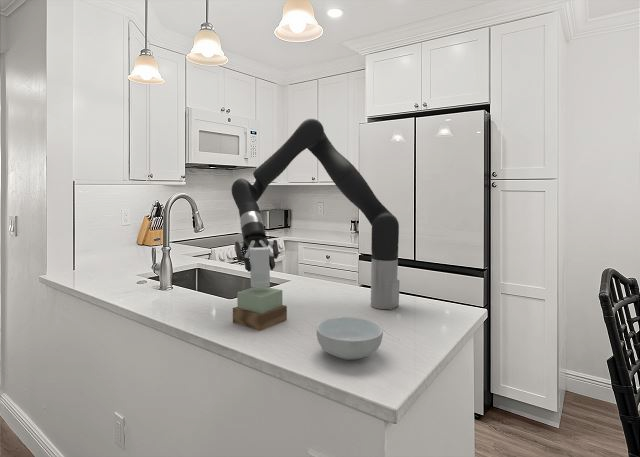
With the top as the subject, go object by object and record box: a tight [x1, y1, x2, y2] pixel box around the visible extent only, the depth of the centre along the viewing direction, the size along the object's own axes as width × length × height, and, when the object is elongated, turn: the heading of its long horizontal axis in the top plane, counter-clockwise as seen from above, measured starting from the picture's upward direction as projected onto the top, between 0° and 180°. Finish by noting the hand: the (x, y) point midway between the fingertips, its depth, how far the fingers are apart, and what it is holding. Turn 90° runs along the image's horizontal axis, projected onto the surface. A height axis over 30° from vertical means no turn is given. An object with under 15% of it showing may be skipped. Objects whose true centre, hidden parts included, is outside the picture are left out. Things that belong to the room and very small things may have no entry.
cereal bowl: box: [316, 316, 384, 361], centre depth 104 cm, size 17×17×7 cm
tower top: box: [236, 287, 283, 314], centre depth 128 cm, size 10×10×5 cm
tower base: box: [232, 304, 288, 332], centre depth 128 cm, size 12×12×5 cm
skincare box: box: [249, 246, 271, 288], centre depth 127 cm, size 6×4×12 cm
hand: (261, 269), depth 125 cm, fingers closed on skincare box, 6 cm apart
